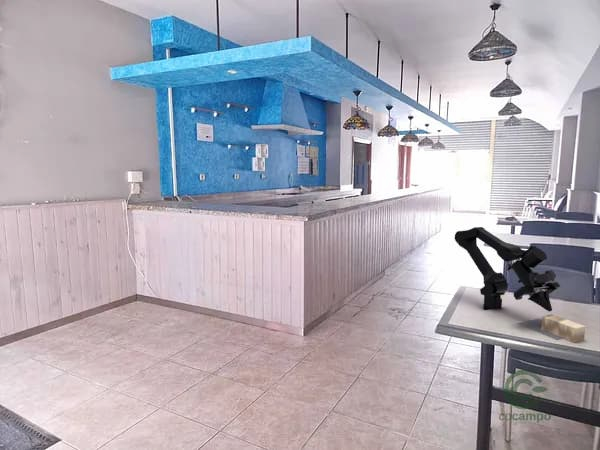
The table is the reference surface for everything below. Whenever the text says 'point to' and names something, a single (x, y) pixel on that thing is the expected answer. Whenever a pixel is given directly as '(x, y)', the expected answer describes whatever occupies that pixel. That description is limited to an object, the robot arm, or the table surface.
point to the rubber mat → (538, 328)
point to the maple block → (563, 328)
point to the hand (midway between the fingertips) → (550, 310)
